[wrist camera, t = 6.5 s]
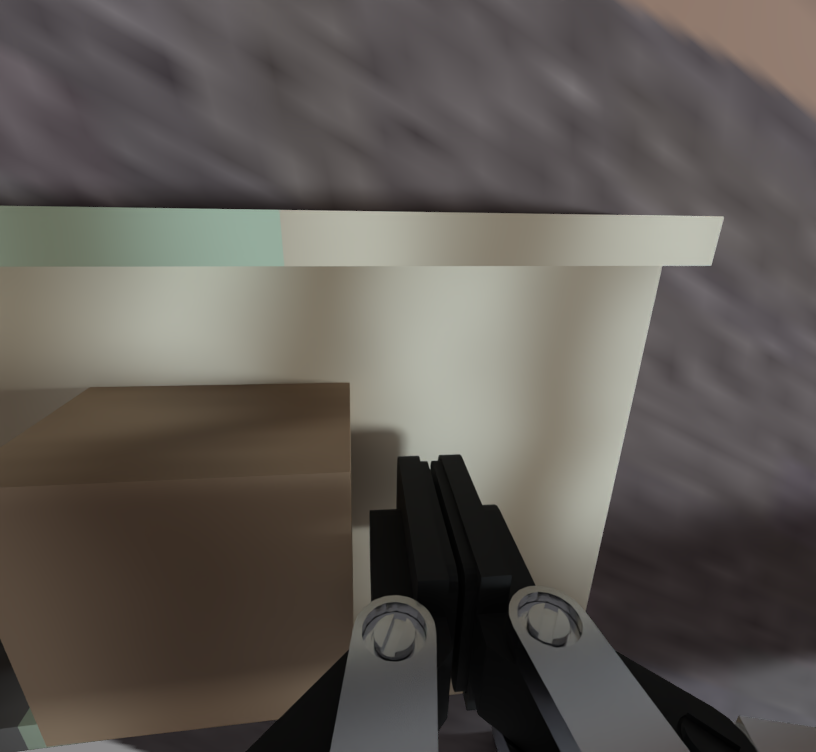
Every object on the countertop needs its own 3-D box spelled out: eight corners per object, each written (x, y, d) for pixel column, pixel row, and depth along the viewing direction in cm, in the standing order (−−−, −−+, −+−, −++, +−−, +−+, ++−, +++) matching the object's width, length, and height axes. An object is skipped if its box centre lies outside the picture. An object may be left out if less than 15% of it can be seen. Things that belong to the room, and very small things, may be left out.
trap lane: (623, 215, 12) (724, 216, 9) (555, 587, 17) (603, 674, 14) (-363, 200, 9) (-747, 194, 6) (-97, 653, 14) (-228, 783, 11)
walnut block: (350, 382, 11) (350, 472, 7) (352, 567, 13) (354, 710, 9) (90, 386, 10) (-64, 490, 6) (139, 582, 12) (46, 747, 8)
